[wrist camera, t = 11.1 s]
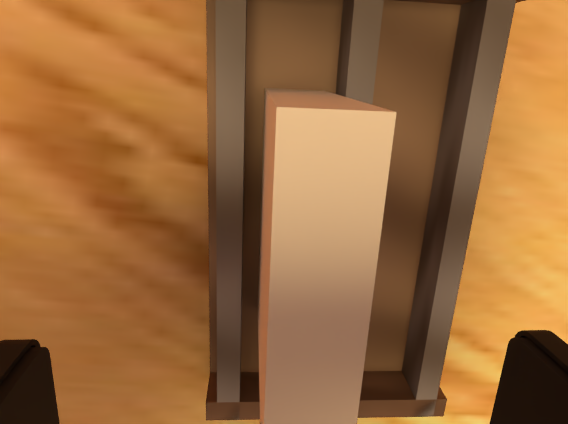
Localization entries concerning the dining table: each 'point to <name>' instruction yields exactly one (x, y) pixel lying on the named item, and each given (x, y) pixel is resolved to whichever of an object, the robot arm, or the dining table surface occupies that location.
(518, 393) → the robot arm
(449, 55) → the dark wooden tray
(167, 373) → the dining table surface
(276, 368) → the door panel
